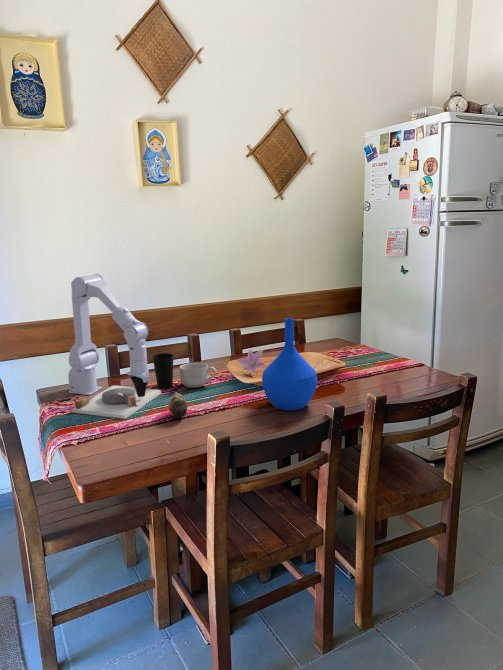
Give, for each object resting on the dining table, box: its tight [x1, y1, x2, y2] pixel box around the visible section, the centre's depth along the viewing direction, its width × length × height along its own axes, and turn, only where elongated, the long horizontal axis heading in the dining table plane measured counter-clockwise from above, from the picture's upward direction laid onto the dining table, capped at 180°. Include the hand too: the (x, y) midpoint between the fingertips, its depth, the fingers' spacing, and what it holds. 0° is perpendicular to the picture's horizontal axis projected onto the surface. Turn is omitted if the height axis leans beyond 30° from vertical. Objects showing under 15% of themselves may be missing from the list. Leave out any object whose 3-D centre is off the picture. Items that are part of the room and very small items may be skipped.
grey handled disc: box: [102, 388, 136, 406], centre depth 178 cm, size 16×11×3 cm
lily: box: [237, 349, 266, 374], centre depth 207 cm, size 12×12×10 cm
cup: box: [152, 352, 175, 390], centre depth 194 cm, size 8×8×12 cm
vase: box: [261, 317, 318, 412], centre depth 171 cm, size 18×18×30 cm
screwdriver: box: [74, 394, 96, 409], centre depth 176 cm, size 9×2×2 cm, turn 161°
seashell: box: [167, 391, 188, 419], centre depth 166 cm, size 10×6×8 cm, turn 24°
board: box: [72, 385, 162, 420], centre depth 181 cm, size 20×24×1 cm
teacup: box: [179, 362, 217, 389], centre depth 195 cm, size 14×11×8 cm
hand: (141, 396), depth 179 cm, fingers closed
